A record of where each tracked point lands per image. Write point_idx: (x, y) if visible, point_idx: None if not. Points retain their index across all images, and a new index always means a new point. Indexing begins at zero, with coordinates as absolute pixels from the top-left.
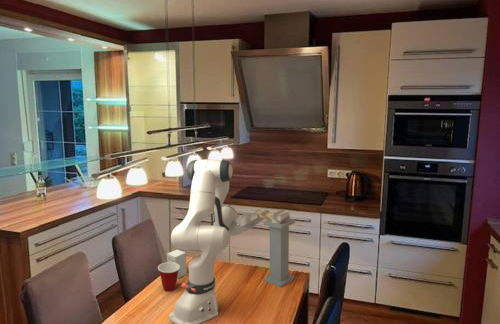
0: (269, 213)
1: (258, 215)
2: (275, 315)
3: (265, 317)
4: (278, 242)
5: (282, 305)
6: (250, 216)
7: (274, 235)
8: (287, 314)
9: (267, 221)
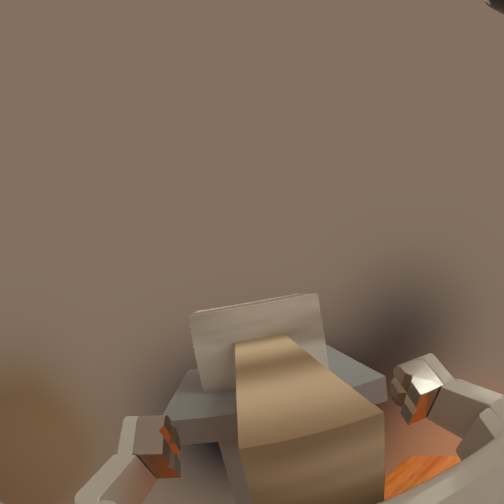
0: (279, 349)
1: (396, 374)
2: (436, 465)
3: (460, 460)
4: None
5: (402, 491)
6: (498, 435)
7: None
8: (409, 466)
9: (349, 379)
